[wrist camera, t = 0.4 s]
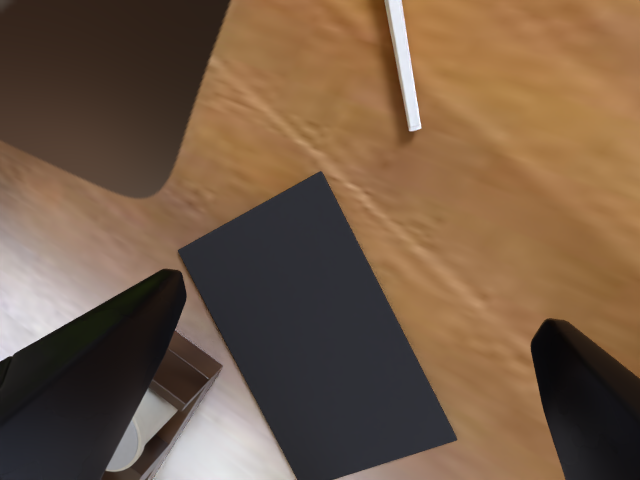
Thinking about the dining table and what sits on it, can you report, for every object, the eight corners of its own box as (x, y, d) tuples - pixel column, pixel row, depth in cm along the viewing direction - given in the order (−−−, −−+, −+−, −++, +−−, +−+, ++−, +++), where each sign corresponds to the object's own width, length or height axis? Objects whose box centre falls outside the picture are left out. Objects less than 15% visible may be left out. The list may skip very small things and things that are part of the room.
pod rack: (223, 365, 26) (185, 404, 21) (137, 502, 30) (88, 563, 25) (160, 320, 27) (110, 348, 22) (83, 459, 30) (24, 510, 25)
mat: (456, 436, 24) (457, 440, 23) (303, 485, 26) (302, 489, 26) (321, 171, 23) (320, 170, 23) (180, 249, 26) (177, 250, 25)
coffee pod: (197, 410, 25) (154, 459, 20) (144, 432, 26) (92, 482, 21) (164, 348, 25) (114, 383, 20) (113, 373, 26) (54, 411, 21)
